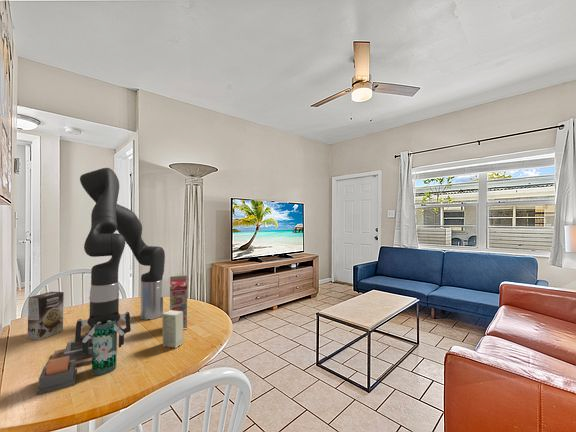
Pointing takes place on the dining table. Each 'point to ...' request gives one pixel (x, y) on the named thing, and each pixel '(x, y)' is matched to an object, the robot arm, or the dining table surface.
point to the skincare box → (172, 328)
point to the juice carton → (179, 296)
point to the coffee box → (45, 315)
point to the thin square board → (75, 353)
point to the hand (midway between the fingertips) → (103, 349)
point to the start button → (58, 365)
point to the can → (104, 348)
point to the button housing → (57, 379)
